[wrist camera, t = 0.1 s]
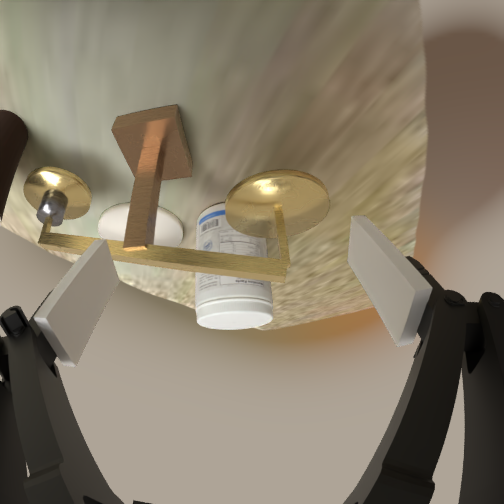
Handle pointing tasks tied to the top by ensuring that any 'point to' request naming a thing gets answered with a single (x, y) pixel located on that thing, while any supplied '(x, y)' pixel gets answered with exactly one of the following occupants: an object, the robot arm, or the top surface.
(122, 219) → the plate
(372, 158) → the top surface
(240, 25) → the top surface
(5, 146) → the coffee mug
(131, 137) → the balance
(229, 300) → the supplement tub
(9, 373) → the robot arm
